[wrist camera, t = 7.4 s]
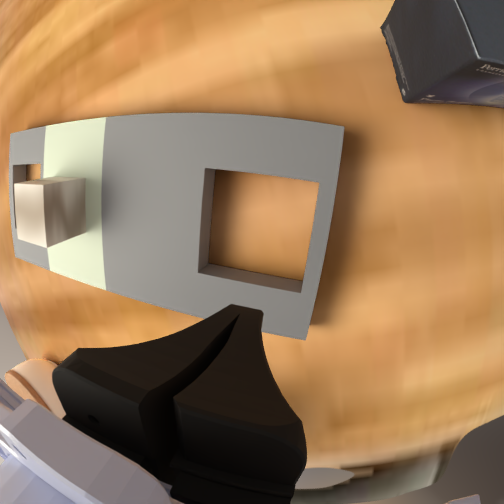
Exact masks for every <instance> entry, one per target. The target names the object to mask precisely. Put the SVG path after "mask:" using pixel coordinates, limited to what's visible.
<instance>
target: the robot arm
mask: <svg viewBox="0 0 504 504" xmlns="http://www.w3.org/2000/svg"><path fill="white" fill-rule="evenodd" d="M263 316H264V313H263V311H262V310H259V309H254V308H249V307H244V306H240V305H235V304H230V305H228V306H226V307H225V308H223V309H221V310H220V311H218V312H216V313H215V314H213V315H211V316H209V317H208V318H206V319H204V320H202V321H200V322H198V323H196V324H194V325H192V326H190V327H188V328H186V329H184V330H181V331H179V332H177V333H174V334H171V335H168V336H165V337H162V338H159V339H156V340H151V341H147V342H143V343H139V344H134V345H127V346H120V347H110V348H78V349H77V350H76V351H74V352H73V353H72V354H71V355H70V356H69V357H67V358H66V359H65V360H64V361H63V362H62V363H60V364H59V365H58V366H57V367H56V368H55V369H54V370H53V372H52V382H53V386H54V389H55V391H56V393H57V396H58V398H59V400H60V402H61V405H62V407H63V409H64V411H65V413H66V415H65V416H64V417H63V418H62V419H61V418H59V417H58V416H56V415H55V414H54V413H52V412H51V411H49V410H48V409H47V408H45V407H44V406H42V405H41V404H39V403H37V402H35V401H34V400H32V399H26V400H24V399H23V398H22V397H20V396H19V395H18V394H17V393H16V392H15V391H13V390H12V389H11V388H10V387H9V386H8V385H7V384H6V383H5V382H4V381H3V380H1V379H0V456H1V457H2V458H3V459H4V460H5V461H4V462H3V463H2V464H1V465H0V504H290V501H291V498H292V497H293V495H294V490H295V484H296V482H297V481H298V479H299V477H300V476H301V474H302V472H303V471H304V469H305V466H306V462H307V447H306V439H305V434H304V429H303V425H302V421H301V420H300V419H299V418H298V416H297V415H296V414H295V413H294V411H293V410H292V409H291V407H290V406H289V404H288V403H287V401H286V400H285V398H284V397H283V395H282V393H281V391H280V389H279V387H278V386H277V384H276V382H275V380H274V378H273V375H272V373H271V370H270V368H269V365H268V362H267V359H266V355H265V351H264V346H263V341H262V332H261V329H262V322H263ZM444 504H481V503H480V499H479V495H477V494H476V495H472V496H468V497H464V498H460V499H455V500H452V501H449V502H447V503H444Z"/></svg>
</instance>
